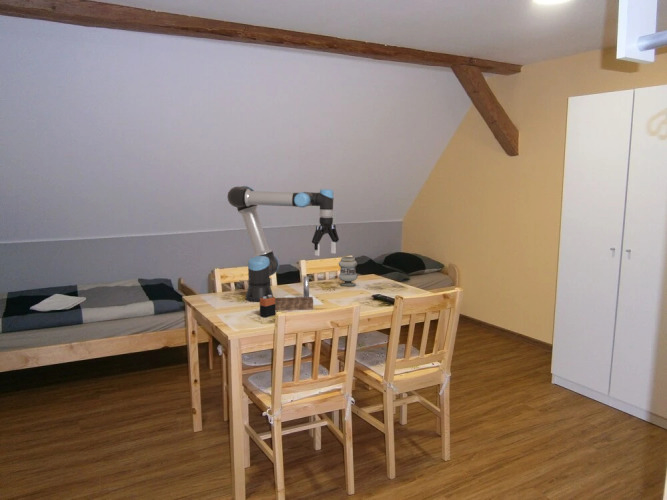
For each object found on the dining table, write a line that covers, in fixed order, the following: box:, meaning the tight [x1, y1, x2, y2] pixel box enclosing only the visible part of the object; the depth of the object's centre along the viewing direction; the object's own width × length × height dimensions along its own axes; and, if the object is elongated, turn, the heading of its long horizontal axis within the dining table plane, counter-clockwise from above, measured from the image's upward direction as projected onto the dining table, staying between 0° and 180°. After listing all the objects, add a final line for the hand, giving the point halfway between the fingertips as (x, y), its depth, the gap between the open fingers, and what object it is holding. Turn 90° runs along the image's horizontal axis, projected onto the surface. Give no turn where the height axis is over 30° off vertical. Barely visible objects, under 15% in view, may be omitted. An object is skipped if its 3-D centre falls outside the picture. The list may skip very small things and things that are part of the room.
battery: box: [259, 295, 276, 319], centre depth 244 cm, size 4×7×10 cm, turn 140°
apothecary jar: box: [338, 256, 358, 288], centre depth 314 cm, size 12×12×18 cm
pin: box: [303, 275, 310, 297], centre depth 271 cm, size 3×3×14 cm
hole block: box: [275, 296, 314, 311], centre depth 259 cm, size 24×9×4 cm, turn 95°
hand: (325, 254), depth 281 cm, fingers open, 13 cm apart
